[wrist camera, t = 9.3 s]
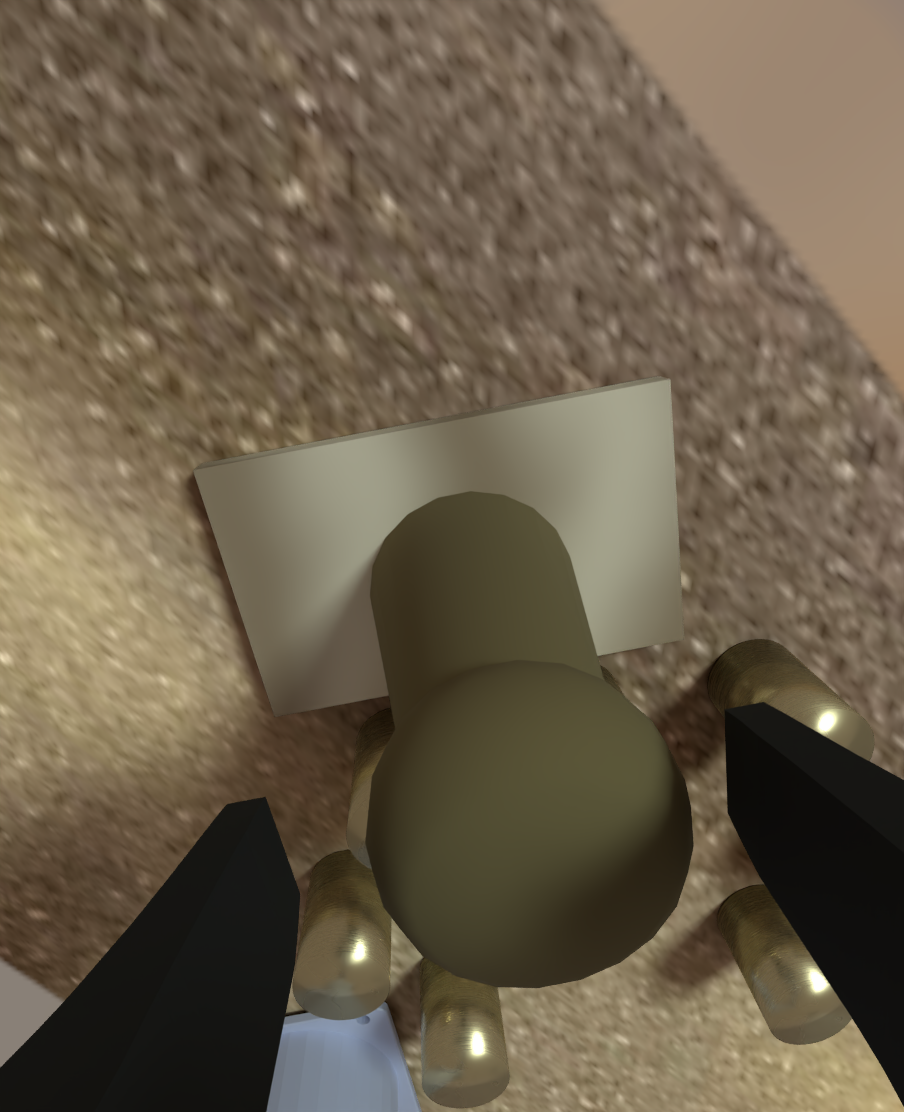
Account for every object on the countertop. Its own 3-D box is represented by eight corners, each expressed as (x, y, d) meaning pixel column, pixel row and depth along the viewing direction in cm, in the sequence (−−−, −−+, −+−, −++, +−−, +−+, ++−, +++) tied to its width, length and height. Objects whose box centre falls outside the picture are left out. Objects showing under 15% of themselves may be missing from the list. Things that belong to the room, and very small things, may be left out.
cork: (348, 655, 20) (286, 1029, 10) (399, 466, 18) (389, 682, 8) (535, 696, 21) (661, 1075, 11) (603, 521, 19) (837, 779, 9)
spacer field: (354, 1015, 27) (346, 1131, 23) (253, 721, 21) (221, 808, 18) (863, 919, 27) (938, 1019, 23) (887, 600, 21) (988, 663, 18)
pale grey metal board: (279, 702, 21) (274, 717, 20) (201, 463, 18) (193, 470, 18) (674, 627, 21) (684, 639, 20) (659, 376, 18) (670, 379, 18)
